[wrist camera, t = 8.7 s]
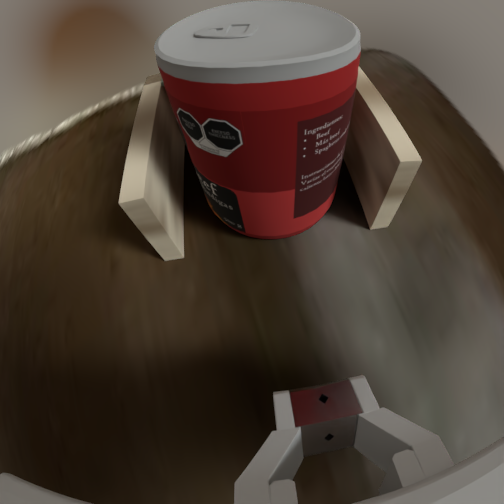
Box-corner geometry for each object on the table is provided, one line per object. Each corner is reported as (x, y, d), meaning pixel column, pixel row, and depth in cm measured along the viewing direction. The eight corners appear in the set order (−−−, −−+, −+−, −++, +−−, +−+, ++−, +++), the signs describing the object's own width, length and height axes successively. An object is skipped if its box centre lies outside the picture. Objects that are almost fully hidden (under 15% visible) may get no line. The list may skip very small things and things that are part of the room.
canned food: (206, 156, 20) (164, 15, 11) (317, 142, 20) (326, -3, 10) (209, 253, 17) (132, 91, 7) (347, 234, 17) (399, 64, 7)
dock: (387, 227, 17) (424, 156, 11) (164, 260, 17) (115, 199, 11) (337, 113, 21) (345, 46, 16) (170, 137, 22) (145, 73, 16)
